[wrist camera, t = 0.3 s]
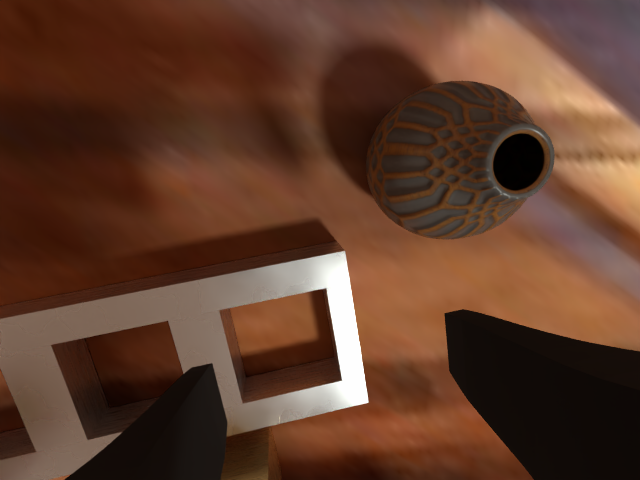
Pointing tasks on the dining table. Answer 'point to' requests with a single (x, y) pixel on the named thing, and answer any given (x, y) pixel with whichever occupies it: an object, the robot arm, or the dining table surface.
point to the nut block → (251, 456)
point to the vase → (456, 160)
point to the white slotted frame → (192, 347)
